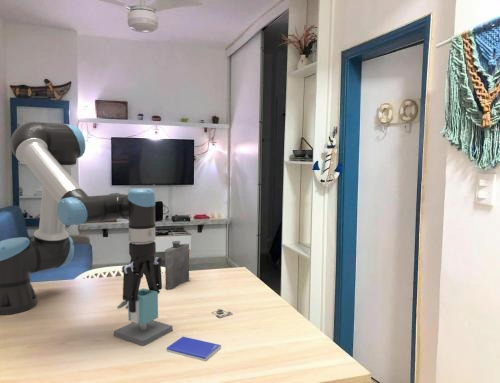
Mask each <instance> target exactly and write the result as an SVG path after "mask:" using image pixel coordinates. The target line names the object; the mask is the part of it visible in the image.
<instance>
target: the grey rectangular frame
mask: <svg viewBox="0 0 500 383" xmlns="http://www.w3.org/2000/svg"><path fill="white" fill-rule="evenodd" d="M224 313H225V314H224ZM211 314H213V315H215V317H216V318H218V319H222V318H223V319H224V318H225V317H229V316H232V315H234V313H233V312H231V311H225V310H223V309H221V308H218V309H217V310H215V311H212V312H211Z"/></svg>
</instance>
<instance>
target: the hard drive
mask: <svg viewBox="0 0 500 383" xmlns="http://www.w3.org/2000/svg"><path fill="white" fill-rule="evenodd" d="M221 348H222V345H221V344H217V343H214V342H209V341H204V340H201V339H196V338H192V337H187V336H182V337H180V338H179V339H177V340H176V341H174V342H173V343H171V344H170V345H169V346H167V347H166V352H168V353H171V354H176V355H180V356H184V357H188V358H192V359H196V360H199V361H203V362H207V361H208V360H209V359H210V358H211V357H212V356H213V355H215V354H216V353H217V352H218V351H219V350H220V349H221Z"/></svg>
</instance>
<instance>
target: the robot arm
mask: <svg viewBox="0 0 500 383" xmlns="http://www.w3.org/2000/svg"><path fill="white" fill-rule="evenodd" d="M10 148H11V152H12V154H13V155H14V157H15V158H16V159H17V161H18V162H19V163H21V164H23V165H26V167H27V168H28V169H29V170H30V171H31V172H32V173H33V175H35V177H36V178H37V180H38V181H39V182H40V183H41V184H42V192H41V193H42V194H41V204H40V211H39V212H40V213H39V214H40V216H39V225H38V226H39V227H38V229H36V230H35V231H34V233H33V238H32V239H31V240H29V237H24V236H23V237H22V236H21V237H20V236H18V237H11V238H6V239H4V240H1V241H0V316H4V315H12V314H18V313H22V312H25V311H28V310H31V309H32V308H34V307H36V306H37V304H38V297H37V294H36V292H35V289H34V288H33V285H32V282H31V274H35V273H38V272H39V273H40V272H44V271H47V270H55V269H58V268H60V267H65V266H66V265H68V264H69V263H70V262H71V261H72V260H73V257H74V255H75V246H74V239H73V238H72V237H71V236H69V235H70V234H69V232H68V231H67V230H66V226H74V225H75V226H80V225H84V224H91V223H98V222H105V221H113V220H127V221H128V242H129V244H128V248H129V249H128V250H129V251H128V252H129V256H130V261H129V264H128V265H123V266H122V267H121V270H122V274H123V277H122V280H123V283H122V301H123V300H126V301H129V311H130V312H131V321H130V322H131V323H133V322H134V323H137V324H138V323H139V301H138V300H137V296H138V291H139V290H140V287H141V281H142V278H143V277H145V279H146V283H147V284H146V285H147V286H148V288H147V289H148V290H152V291H157V292H158V295H159V294H160V293H161V292H160V291H161V290H162V289H163V282H162V281H163V280H162V258H161V257H157V256H155V254H156V252H157V249H156V245H157V244H156V242H155V240H156V197H155V191H154V190H153V189H151V188H131V189H129V190H128V192H127V194H123V193H119V192H115V193H114V192H112V193H107V194H103V195H88V194H87V192H85V191H84V190H83V189H82V187H81V186H80V185H79V184H78V183H77V181H75V180H74V178H73V177H72V176H71V174H72V173H71V172H72V168H73V167H75V166H76V165H77V159H79V158H81V157H83V155H84V154H85V152H86V140H85V136H84V134H83V132H82V130H81V129H80V128H79V127H78V126H77V125H74V124H67V123H56V122H55V123H54V122H40V121H30V122H29V121H28V122H26V123H24V124H21V125H20V126H18V127H17V128H16V129H15V130H14V132H13V133H12V135H11V138H10ZM132 296H133V297H132Z"/></svg>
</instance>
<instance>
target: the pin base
mask: <svg viewBox="0 0 500 383" xmlns="http://www.w3.org/2000/svg"><path fill="white" fill-rule="evenodd" d="M172 331H173V325H171V324H167V323H164V322H161V321H157V320H155V319H154V320H152V321H150V322H148V323H146V324H144V325H142V324H139V323H138V324H137V323H134V322H131V323H128V324H127V325H124V326H122V327H120V328H117V329H115V330H113V337H116V338H119V339H121V340H125V341H127V342H130V343H132V344H136V345H139V346H141V347H144V346H146V345H147V344H149V343H152V342H154V341H156V340H158V339H160V338H162V337H163V336H165V335H167V334H169V333H171V332H172ZM161 336H162V337H161ZM159 337H160V338H159Z"/></svg>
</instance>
